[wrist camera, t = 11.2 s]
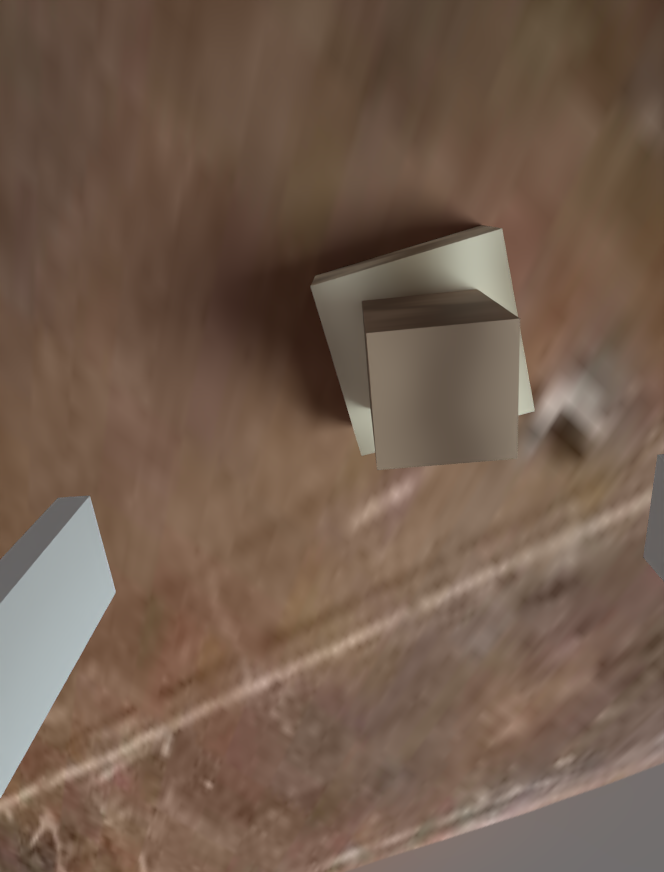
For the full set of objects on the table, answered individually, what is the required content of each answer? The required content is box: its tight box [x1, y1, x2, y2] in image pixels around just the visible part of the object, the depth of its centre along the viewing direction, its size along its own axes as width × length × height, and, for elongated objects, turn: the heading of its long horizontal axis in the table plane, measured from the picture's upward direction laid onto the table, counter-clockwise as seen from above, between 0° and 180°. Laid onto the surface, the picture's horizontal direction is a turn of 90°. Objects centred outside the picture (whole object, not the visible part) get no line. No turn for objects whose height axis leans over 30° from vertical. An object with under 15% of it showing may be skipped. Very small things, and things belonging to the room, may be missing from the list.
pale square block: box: [310, 225, 535, 456], centre depth 34 cm, size 10×10×5 cm
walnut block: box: [362, 289, 520, 470], centre depth 28 cm, size 6×6×8 cm
